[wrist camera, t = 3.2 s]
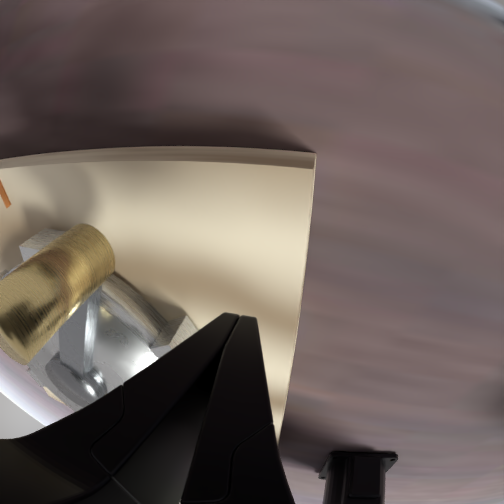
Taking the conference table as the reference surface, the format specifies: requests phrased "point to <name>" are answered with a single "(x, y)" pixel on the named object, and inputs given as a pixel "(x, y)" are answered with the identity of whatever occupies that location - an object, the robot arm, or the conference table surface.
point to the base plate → (182, 230)
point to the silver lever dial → (79, 317)
